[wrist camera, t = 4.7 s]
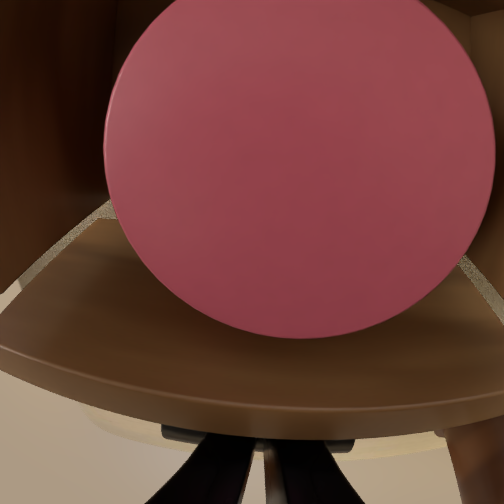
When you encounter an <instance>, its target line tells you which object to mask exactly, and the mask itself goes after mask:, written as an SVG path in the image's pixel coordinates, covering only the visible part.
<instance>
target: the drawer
mask: <svg viewBox="0 0 504 504" xmlns="http://www.w3.org/2000/svg"><path fill="white" fill-rule="evenodd" d="M175 1H176V0H0V294H2V293H4V292H5V291H6V289H7V288H8V287H9V286H10V285H11V284H12V283H13V282H14V281H15V280H16V279H18V278H19V277H20V276H21V275H22V274H23V273H24V272H25V271H26V270H27V269H28V268H29V267H30V266H31V265H32V264H33V263H34V262H35V261H36V260H37V259H39V258H40V257H41V256H42V255H43V254H44V253H45V252H46V251H47V250H48V249H50V248H51V247H52V246H53V245H54V244H55V243H56V242H58V241H59V240H60V239H61V238H62V237H63V236H65V235H66V234H67V233H68V232H69V231H70V230H72V229H73V228H74V227H75V226H76V225H78V224H79V223H80V222H81V221H82V220H84V219H85V218H86V217H87V216H89V215H90V214H91V213H92V212H94V211H95V210H96V209H97V208H99V207H100V206H101V205H103V204H104V203H105V202H107V201H108V200H109V199H110V194H109V190H108V185H107V180H106V175H105V167H104V152H103V143H104V128H105V119H106V114H107V110H108V105H109V101H110V96H111V93H112V90H113V88H114V85H115V82H116V80H117V77H118V75H119V72H120V69H121V68H122V66H123V64H124V62H125V60H126V59H127V57H128V55H129V53H130V51H131V50H132V48H133V46H134V45H135V43H136V42H137V41H138V39H139V38H140V37H141V36H142V34H143V33H144V32H145V30H146V29H147V28H148V27H149V25H150V24H151V23H152V22H153V21H154V20H155V19H156V18H157V17H158V16H159V15H160V14H161V13H162V12H163V11H164V10H165V9H167V8H168V7H169V6H170V5H171V4H172V3H173V2H175ZM419 1H420V2H422V3H423V4H424V5H425V6H426V7H428V8H429V9H430V10H431V11H432V12H433V13H434V14H435V15H436V16H437V17H438V18H439V19H440V20H442V21H443V22H444V23H445V25H446V26H447V27H448V28H449V29H450V31H451V32H452V33H453V34H454V36H455V37H456V38H457V39H458V41H459V42H460V43H461V44H462V46H463V48H464V49H465V51H466V53H467V54H468V56H469V57H470V59H471V61H472V63H473V64H474V66H475V68H476V70H477V72H478V75H479V77H480V79H481V82H482V84H483V86H484V89H485V91H486V95H487V98H488V102H489V106H490V109H491V113H492V118H493V125H494V133H495V144H496V158H495V172H494V180H493V187H492V191H491V195H490V199H489V203H488V206H487V210H486V213H485V215H484V218H483V220H482V223H481V225H480V227H479V230H478V232H477V234H476V236H475V237H474V239H473V241H472V243H471V245H470V246H469V248H468V250H467V252H466V253H465V255H466V256H467V257H468V258H469V259H470V260H471V261H472V262H473V264H474V265H475V266H476V267H477V268H478V269H479V270H480V271H481V273H482V274H483V275H484V276H485V277H486V279H487V280H488V281H489V282H490V283H491V284H492V286H493V287H494V288H495V289H496V291H497V292H498V293H499V294H500V296H501V297H502V298H503V299H504V0H419ZM0 370H1V371H4V372H6V373H8V374H10V375H12V376H14V377H17V378H19V379H21V380H24V381H26V382H28V383H31V384H33V385H35V386H38V387H40V388H43V389H45V390H48V391H50V392H53V393H56V394H58V395H61V396H64V397H67V398H69V399H73V400H75V401H78V402H81V403H84V404H87V405H90V406H94V407H97V408H100V409H104V410H107V411H111V412H114V413H118V414H122V415H125V416H129V417H133V418H137V419H142V420H146V421H150V422H155V423H159V424H161V432H162V436H163V437H164V438H165V439H170V440H175V441H181V442H186V443H192V444H199V443H200V442H201V440H202V439H204V436H205V434H206V433H207V432H211V433H218V434H226V435H235V436H245V437H256V438H258V440H257V444H256V448H255V451H258V452H264V451H263V438H270V439H290V440H324V441H325V443H326V445H327V446H326V447H328V448H329V450H330V452H331V453H348V452H350V451H351V450H352V448H353V446H354V442H355V439H364V438H378V437H389V436H398V435H407V434H415V433H422V432H428V431H434V430H440V429H446V428H451V427H456V426H461V425H465V424H470V423H474V422H478V421H482V420H486V419H490V418H494V417H498V416H501V415H504V325H503V324H502V322H501V321H500V320H499V318H498V317H497V315H496V314H495V312H494V311H493V310H492V308H491V307H490V306H489V304H488V303H487V301H486V300H485V299H484V297H483V296H482V295H481V294H480V292H479V291H478V290H477V288H476V287H475V286H474V284H473V283H472V282H471V281H470V279H469V278H468V277H467V276H466V274H465V273H464V272H463V271H462V269H461V268H460V267H459V266H458V265H456V267H455V268H454V269H453V270H452V271H451V273H450V274H449V275H448V276H447V277H446V278H445V279H444V280H443V281H442V282H441V283H440V284H439V285H438V286H437V287H436V288H435V289H434V290H433V291H431V292H430V293H429V294H428V295H427V296H425V297H424V298H423V299H422V300H420V301H419V302H417V303H416V304H414V305H413V306H411V307H410V308H408V309H407V310H405V311H404V312H402V313H400V314H398V315H396V316H394V317H392V318H390V319H389V320H387V321H385V322H382V323H380V324H377V325H374V326H372V327H369V328H366V329H364V330H360V331H356V332H352V333H349V334H345V335H340V336H333V337H326V338H315V339H290V338H277V337H271V336H265V335H259V334H255V333H251V332H248V331H244V330H241V329H237V328H234V327H232V326H229V325H227V324H224V323H222V322H219V321H217V320H215V319H213V318H211V317H209V316H207V315H205V314H203V313H202V312H200V311H198V310H196V309H194V308H193V307H192V306H190V305H189V304H187V303H186V302H184V301H183V300H182V299H180V298H179V297H177V296H176V295H175V294H174V293H173V292H171V291H170V290H169V289H168V288H167V287H166V286H165V285H164V284H162V283H161V282H160V281H159V280H158V279H157V278H156V277H155V275H154V274H153V273H152V272H151V271H150V270H149V269H148V267H147V266H146V265H145V264H144V263H143V262H142V260H141V259H140V257H139V256H138V254H137V253H136V251H135V250H134V248H133V247H132V245H131V244H130V242H129V241H128V239H127V237H126V235H125V233H124V231H123V229H122V227H121V225H120V223H119V221H118V220H117V219H102V218H99V219H97V220H96V221H95V222H94V223H92V224H91V225H90V226H89V227H88V228H87V229H86V230H84V231H83V232H82V233H81V234H80V235H79V236H78V237H77V238H75V239H74V240H73V241H72V242H71V243H70V244H69V245H68V246H67V247H66V248H65V249H63V250H62V251H61V252H60V253H59V254H58V255H57V256H56V257H55V258H54V259H53V260H52V261H51V262H50V263H49V264H48V265H47V266H46V267H45V268H44V269H43V270H42V271H41V272H40V273H39V274H38V275H37V276H36V277H35V278H34V279H33V280H32V281H31V282H30V283H29V284H28V285H27V286H26V287H25V288H24V289H23V290H22V291H21V292H20V293H19V294H18V295H17V296H16V297H15V299H14V300H13V301H12V302H11V303H10V304H9V305H8V306H7V307H6V308H5V309H4V311H3V312H2V313H1V314H0Z"/></svg>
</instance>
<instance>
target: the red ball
mask: <svg viewBox="0 0 504 504" xmlns="http://www.w3.org/2000/svg"><path fill="white" fill-rule="evenodd" d="M103 152H104V167H105V175H106V180H107V185H108V190H109V194H110V199H111V201H112V204H113V207H114V210H115V213H116V215H117V218H118V221H119V223H120V225H121V227H122V229H123V231H124V233H125V235H126V237H127V239H128V241H129V242H130V244H131V245H132V247H133V248H134V250H135V251H136V253H137V254H138V256H139V257H140V259H141V260H142V262H143V263H144V264H145V265H146V266H147V267H148V269H149V270H150V271H151V272H152V273H153V274H154V275H155V277H156V278H157V279H158V280H159V281H160V282H161V283H162V284H164V285H165V286H166V287H167V288H168V289H169V290H170V291H171V292H173V293H174V294H175V295H176V296H177V297H179V298H180V299H182V300H183V301H184V302H186V303H187V304H189V305H190V306H192V307H193V308H194V309H196V310H198V311H200V312H202V313H203V314H205V315H207V316H209V317H211V318H213V319H215V320H217V321H219V322H222V323H224V324H227V325H229V326H232V327H234V328H237V329H241V330H244V331H248V332H251V333H255V334H259V335H265V336H271V337H277V338H290V339H315V338H326V337H333V336H340V335H345V334H349V333H352V332H356V331H360V330H364V329H366V328H369V327H372V326H374V325H377V324H380V323H382V322H385V321H387V320H389V319H390V318H392V317H394V316H396V315H398V314H400V313H402V312H404V311H405V310H407V309H408V308H410V307H411V306H413V305H414V304H416V303H417V302H419V301H420V300H422V299H423V298H424V297H425V296H427V295H428V294H429V293H430V292H431V291H433V290H434V289H435V288H436V287H437V286H438V285H439V284H440V283H441V282H442V281H443V280H444V279H445V278H446V277H447V276H448V275H449V274H450V273H451V271H452V270H453V269H454V268H455V267H456V265H457V264H458V263H459V261H460V260H461V258H462V257H463V256H464V254H465V253H466V252H467V250H468V248H469V246H470V245H471V243H472V241H473V239H474V237H475V236H476V234H477V232H478V230H479V227H480V225H481V223H482V220H483V218H484V215H485V213H486V210H487V206H488V203H489V199H490V195H491V191H492V187H493V180H494V172H495V158H496V144H495V133H494V125H493V118H492V113H491V109H490V106H489V102H488V98H487V95H486V91H485V89H484V86H483V84H482V82H481V79H480V77H479V75H478V72H477V70H476V68H475V66H474V64H473V63H472V61H471V59H470V57H469V56H468V54H467V53H466V51H465V49H464V48H463V46H462V44H461V43H460V42H459V41H458V39H457V38H456V37H455V36H454V34H453V33H452V32H451V31H450V29H449V28H448V27H447V26H446V25H445V23H444V22H443V21H442V20H440V19H439V18H438V17H437V16H436V15H435V14H434V13H433V12H432V11H431V10H430V9H429V8H428V7H426V6H425V5H424V4H423V3H422V2H420V1H419V0H176V1H175V2H173V3H172V4H171V5H170V6H169V7H168V8H167V9H165V10H164V11H163V12H162V13H161V14H160V15H159V16H158V17H157V18H156V19H155V20H154V21H153V22H152V23H151V24H150V25H149V27H148V28H147V29H146V30H145V32H144V33H143V34H142V36H141V37H140V38H139V39H138V41H137V42H136V43H135V45H134V46H133V48H132V50H131V51H130V53H129V55H128V57H127V59H126V60H125V62H124V64H123V66H122V68H121V69H120V72H119V75H118V77H117V80H116V82H115V85H114V88H113V90H112V93H111V96H110V101H109V105H108V110H107V114H106V119H105V128H104V143H103Z"/></svg>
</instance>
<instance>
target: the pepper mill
mask: <svg viewBox="0 0 504 504" xmlns="http://www.w3.org/2000/svg"><path fill="white" fill-rule="evenodd" d="M434 433H435V434H436V435H437V436H439V437H444V438H445V439H446V442H447V446H448V449H449V452H450V456H451V460H452V463H453V467H454V471H455V475H456V479H457V483H458V487H459V491H460V496H461V500H462V504H504V415H501V416H498V417H494V418H490V419H486V420H482V421H478V422H474V423H470V424H465V425H461V426H456V427H451V428H446V429H440V430H434Z"/></svg>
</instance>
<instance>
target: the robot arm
mask: <svg viewBox="0 0 504 504" xmlns="http://www.w3.org/2000/svg"><path fill="white" fill-rule="evenodd" d="M257 440H258V438H256V437H245V436H235V435H226V434H218V433H211V432H207V433H206V434H205V436H204V439H202V440H201V442H200V443H199V444H198V446H197V447H196V449H195V450H194V452H193V453H192V454H191V456H190V457H189V458H188V460H187V461H186V462H185V463H184V464H183V465H182V467H181V468H180V469H179V470H178V471H177V472H176V473H175V474H174V475H173V476H172V477H171V479H169V481H167V483H165V485H163V487H162V488H161V489H159V490H158V491H157V492H156V493H155V494H154V495H153V496H152V497H151V498H150V499H149V500H148V501H147V502H146V503H145V504H241V503H242V499H243V495H244V491H245V487H246V484H247V479H248V476H249V472H250V468H251V464H252V460H253V456H254V452H255V448H256V444H257ZM326 446H327V445H326V443H325V441H324V440H290V439H270V438H263V451H264V469H265V487H266V488H265V490H266V504H365V503H364V502H363V500H362V499H361V498H360V496H359V495H358V494H357V492H356V491H355V490H354V489H353V487H352V486H351V485H350V483H349V482H348V480H347V479H346V477H345V476H344V474H343V473H342V471H341V470H340V468H339V466H338V465H337V463H336V461H335V460H334V458H333V456H332V454H331V452H330V450H329V448H328V447H326Z"/></svg>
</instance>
